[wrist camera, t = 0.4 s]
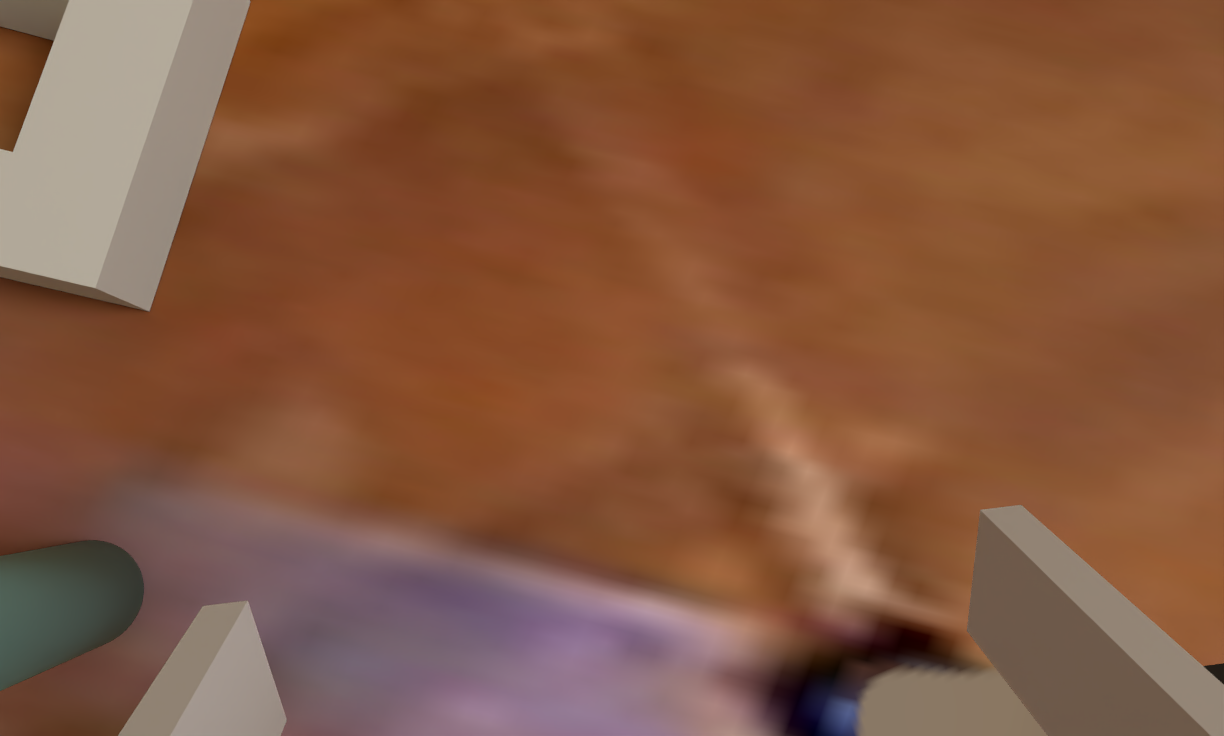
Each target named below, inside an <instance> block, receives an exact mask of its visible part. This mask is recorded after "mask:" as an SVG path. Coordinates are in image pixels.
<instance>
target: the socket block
mask: <svg viewBox="0 0 1224 736" xmlns="http://www.w3.org/2000/svg"><path fill="white" fill-rule="evenodd" d="M249 5H250V0H0V26H1V27H4V28H8V29H12V30H16V31H19V32H23V33H27V34H31V35H34V36H38V37H42V38H46V39H49V40H53V41H54V42H53V45H52V48H51V51H50V53H49V56H48V59H47V61H46V64H45V67H44V69H43V72H42V75H41V78H40V80H39V83H38V86H37V88H36V91H35V94H34V97H33V99H32V102H31V105H30V107H29V110H28V113H27V115H26V118H25V121H24V124H23V126H22V129H21V132H20V134H19V137H18V140H17V142H16V145H15V148H14V151H13V152H10V151H6V150H2V149H0V277H2V278H7V279H11V280H15V281H20V282H24V283H28V284H33V285H37V286H41V287H46V288H50V289H54V290H59V291H63V292H67V293H72V294H76V295H80V296H84V297H89V298H93V299H97V300H102V301H106V302H110V303H115V304H119V305H123V306H128V307H132V308H136V309H141V310H145V311H150V308H151V305H152V302H153V299H154V296H155V293H156V290H157V287H158V284H159V281H160V278H161V275H162V271H163V268H164V265H165V262H166V259H167V256H168V253H169V250H170V247H171V244H172V241H173V238H174V235H175V232H176V229H177V226H178V222H179V219H180V216H181V213H182V210H183V207H184V204H185V201H186V198H187V195H188V192H189V189H190V186H191V183H192V180H193V177H194V173H195V170H196V167H197V164H198V161H199V158H200V155H201V152H202V149H203V146H204V143H205V140H206V137H207V134H208V131H209V128H210V124H211V121H212V118H213V115H214V112H215V109H216V106H217V103H218V100H219V97H220V94H221V91H222V88H223V85H224V82H225V79H226V75H227V72H228V69H229V66H230V63H231V60H232V57H233V54H234V51H235V48H236V45H237V42H238V39H239V36H240V33H241V29H242V26H243V23H244V20H245V17H246V14H247V11H248V8H249Z"/></svg>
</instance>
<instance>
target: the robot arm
mask: <svg viewBox="0 0 1224 736" xmlns="http://www.w3.org/2000/svg"><path fill="white" fill-rule="evenodd" d="M967 632H968V633H969V634H970V635H971V637H972V638H973V639H974V641H975V642H976V643H977V645H978V646H979V647H980V648H981V650H982V651H983V652H984V654H985V655H986V656H987V658H988V659H989V660H990V661H991V663H992V664H993V665H994V667H995V668H996V669H997V671H998V672H999V673H1000V674H1001V676H1002V677H1003V678H1004V679H1005V681H1006V682H1007V683H1008V685H1009V686H1010V687H1011V689H1012V690H1013V691H1014V692H1015V694H1016V695H1017V696H1018V698H1019V699H1020V700H1021V702H1022V703H1023V704H1024V706H1025V707H1026V708H1027V709H1028V711H1029V712H1030V713H1031V715H1032V716H1033V717H1034V719H1035V720H1036V721H1037V722H1038V724H1039V725H1040V726H1041V727H1042V729H1043V730H1044V732H1045V733H1046V734H1047V735H1048V736H1224V663H1223V664H1216V665H1209V666H1202V665H1201V664H1200V663H1199V662H1198V661H1197V660H1195V659H1194V658H1193V657H1192V656H1191V655H1190V654H1189V653H1188V652H1186V651H1185V650H1184V649H1183V648H1182V647H1181V646H1180V645H1179V644H1177V643H1176V642H1175V641H1174V640H1173V639H1172V638H1171V637H1169V636H1168V635H1167V634H1166V633H1165V632H1164V631H1163V630H1162V629H1160V628H1159V627H1158V626H1157V625H1156V624H1155V623H1154V622H1153V621H1151V620H1150V619H1149V618H1148V617H1147V616H1146V615H1145V614H1144V613H1142V612H1141V611H1140V610H1139V609H1138V608H1137V607H1136V606H1135V605H1133V604H1132V603H1131V602H1130V601H1129V600H1128V599H1127V598H1125V597H1124V596H1123V595H1122V594H1121V593H1120V592H1119V591H1118V590H1116V589H1115V588H1114V587H1113V586H1112V585H1111V584H1110V583H1109V582H1107V581H1106V580H1105V579H1104V578H1103V577H1102V576H1101V575H1100V574H1098V573H1097V572H1096V571H1095V570H1094V569H1093V568H1092V567H1090V566H1089V565H1088V564H1087V563H1086V562H1085V561H1084V560H1083V559H1081V558H1080V557H1079V556H1078V555H1077V554H1076V553H1075V552H1074V551H1072V550H1071V549H1070V548H1069V547H1068V546H1067V545H1066V544H1065V543H1063V542H1062V541H1061V540H1060V539H1059V538H1058V537H1057V536H1055V535H1054V534H1053V533H1052V532H1051V531H1050V530H1049V529H1048V528H1046V527H1045V526H1044V525H1043V524H1042V523H1041V522H1040V521H1039V520H1037V519H1036V518H1035V517H1034V516H1033V515H1032V514H1031V513H1030V512H1028V511H1027V510H1026V509H1025V508H1024V507H1023V506H1022V505H1016V506H1008V507H1000V508H992V509H984V510H980V517H979V526H978V535H977V544H976V553H975V562H974V571H973V580H972V589H971V598H970V607H969V616H968V625H967ZM286 721H287V719H286V716H285V713H284V710H283V707H282V704H281V701H280V698H279V695H278V691H277V688H276V685H275V682H274V679H273V676H272V673H271V670H270V667H269V664H268V661H267V658H266V655H265V652H264V649H263V646H262V643H261V640H260V636H259V633H258V630H257V627H256V624H255V621H254V618H253V615H252V612H251V609H250V606H249V603H248V601H241V602H233V603H225V604H216V605H208V606H203V607H202V608H201V610H200V611H199V613H198V614H197V616H196V617H195V619H194V620H193V622H192V624H191V625H190V627H189V628H188V630H187V631H186V633H185V634H184V636H183V637H182V639H181V640H180V642H179V643H178V645H177V646H176V648H175V649H174V651H173V653H172V654H171V656H170V657H169V659H168V660H167V662H166V663H165V665H164V666H163V668H162V669H161V671H160V672H159V674H158V675H157V677H156V679H155V680H154V682H153V683H152V685H151V686H150V688H149V689H148V691H147V692H146V694H145V695H144V697H143V698H142V700H141V701H140V703H139V704H138V706H137V708H136V709H135V711H134V712H133V714H132V715H131V717H130V718H129V720H128V721H127V723H126V724H125V726H124V727H123V729H122V730H121V732H120V733H119V735H118V736H281V734H282V731H283V729H284V726H285V724H286Z"/></svg>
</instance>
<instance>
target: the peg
mask: <svg viewBox="0 0 1224 736" xmlns="http://www.w3.org/2000/svg"><path fill="white" fill-rule="evenodd" d="M143 594H144V583H143V578H142V574H141V571H140V569H139V567H138V565H137V563H136V562H135V561H134V559H133V558H132V557H131V556H130V555H129V554H128V553H127V552H126V551H124V550H123V549H121V548H120V547H118V546H116V545H114V544H111V543H108V542H104V541H96V540H89V541H81V542H75V543H69V544H64V545H58V546H53V547H47V548H42V549H36V550H31V551H25V552H20V553H14V554H9V555H3V556H0V691H1V690H4V689H6V688H8V687H10V686H13V685H15V684H17V683H19V682H21V681H24V680H26V679H28V678H30V677H33V676H35V675H37V674H39V673H42V672H44V671H46V670H48V669H50V668H53V667H55V666H57V665H59V664H62V663H64V662H66V661H68V660H70V659H73V658H75V657H77V656H79V655H82V654H84V653H86V652H88V651H91V650H93V649H95V648H97V647H99V646H102V645H104V644H106V643H108V642H110V641H112V640H114V639H115V638H117V637H118V636H119V635H121V634H122V633H123V632H124V631H125V630H126V629H127V628H128V627H129V626H130V625H131V624H132V622H133V621H134V619H135V618H136V616H137V614H138V612H139V610H140V607H141V604H142V600H143Z"/></svg>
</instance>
